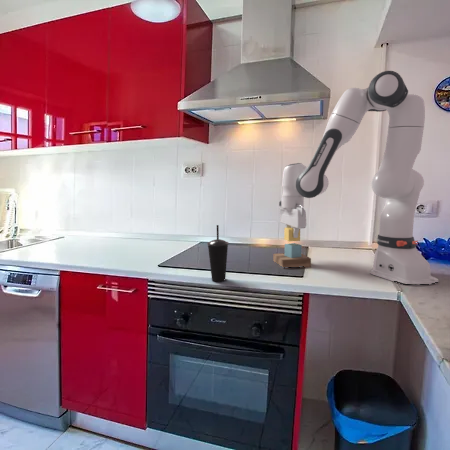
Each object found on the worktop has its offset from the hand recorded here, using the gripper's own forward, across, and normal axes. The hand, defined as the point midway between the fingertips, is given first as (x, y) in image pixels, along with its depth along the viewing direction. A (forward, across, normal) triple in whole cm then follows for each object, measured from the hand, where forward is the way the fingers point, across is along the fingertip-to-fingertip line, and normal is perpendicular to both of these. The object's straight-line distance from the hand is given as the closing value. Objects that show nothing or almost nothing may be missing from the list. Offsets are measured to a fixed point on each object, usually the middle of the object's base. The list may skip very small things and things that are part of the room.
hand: (292, 236), depth 134 cm
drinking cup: (+12, -15, +34) cm, 39 cm away
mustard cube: (+2, 0, 0) cm, 2 cm away
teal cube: (+8, 0, 0) cm, 9 cm away
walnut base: (+12, 0, 0) cm, 13 cm away
